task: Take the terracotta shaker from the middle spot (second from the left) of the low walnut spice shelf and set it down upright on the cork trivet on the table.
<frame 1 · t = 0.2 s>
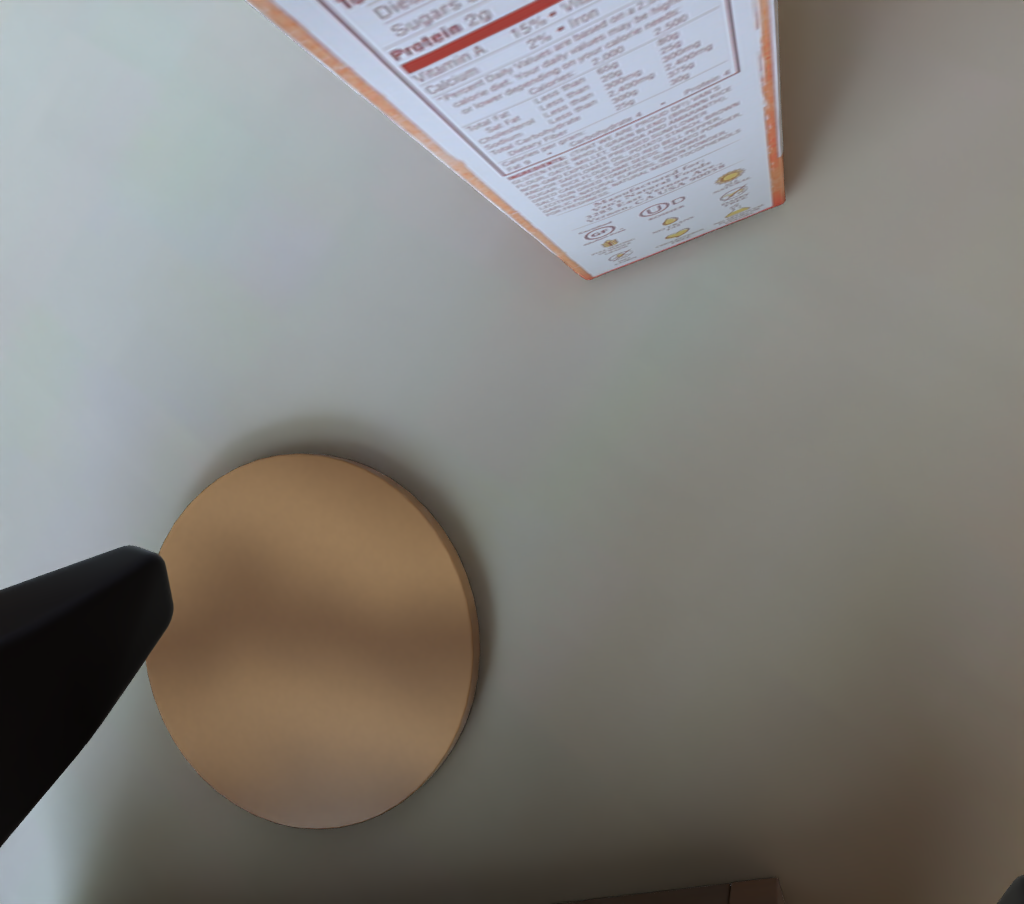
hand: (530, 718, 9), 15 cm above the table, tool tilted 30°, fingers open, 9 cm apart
cork trivet: (308, 636, 26), on the table
cracker box: (599, 21, 24), on the table
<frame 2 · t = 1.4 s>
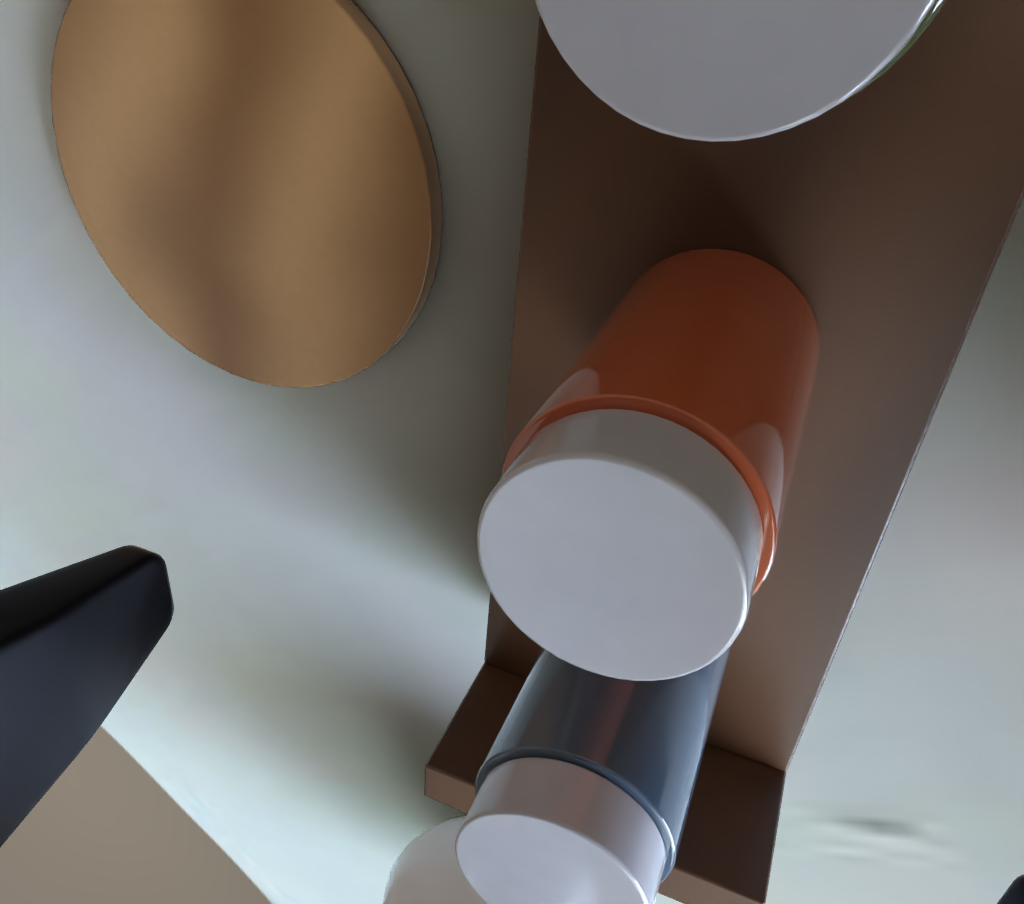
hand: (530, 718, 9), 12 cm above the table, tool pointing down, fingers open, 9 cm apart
spice shelf: (739, 290, 19), on the table
flower vase: (532, 845, 32), on the table
terracotta shaker: (712, 347, 16), point 3 cm above the table, touching spice shelf
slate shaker: (650, 616, 20), point 3 cm above the table, touching spice shelf
cork trivet: (246, 181, 22), on the table
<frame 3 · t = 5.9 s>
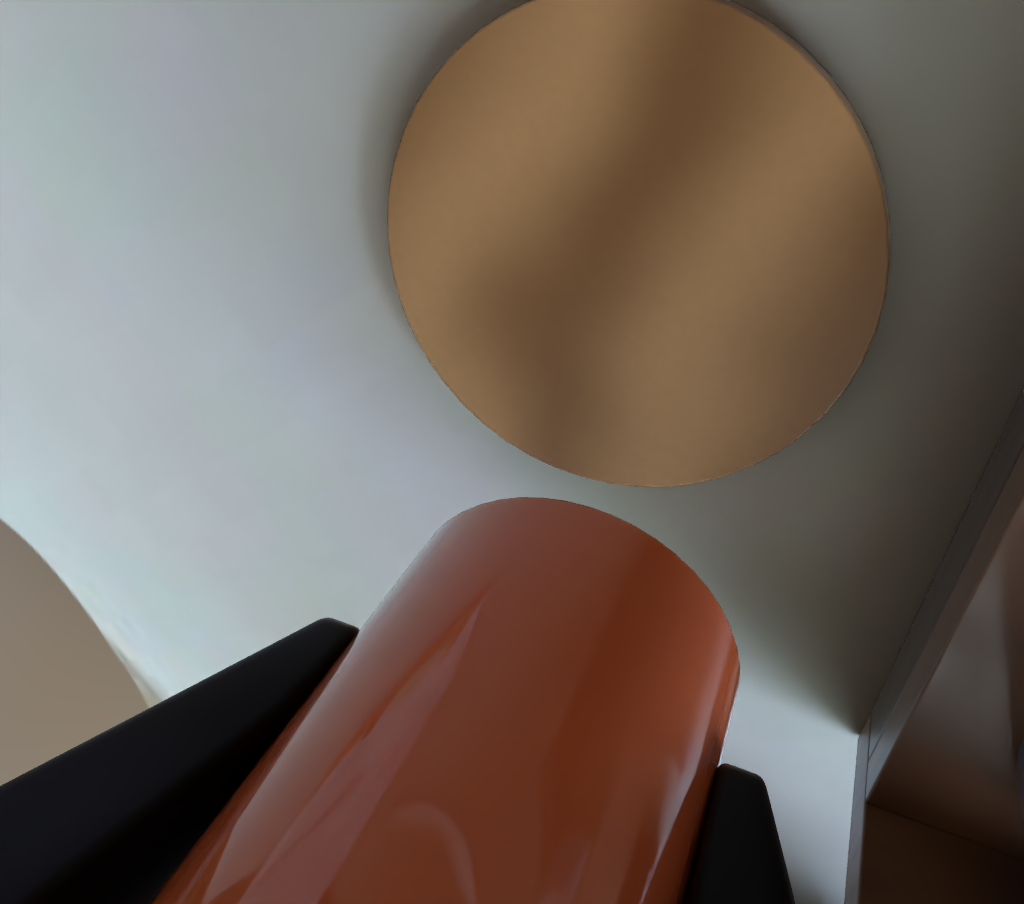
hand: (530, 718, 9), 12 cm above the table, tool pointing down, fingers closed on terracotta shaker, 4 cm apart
terracotta shaker: (567, 638, 10), point 11 cm above the table, touching gripper
cork trivet: (619, 262, 19), on the table
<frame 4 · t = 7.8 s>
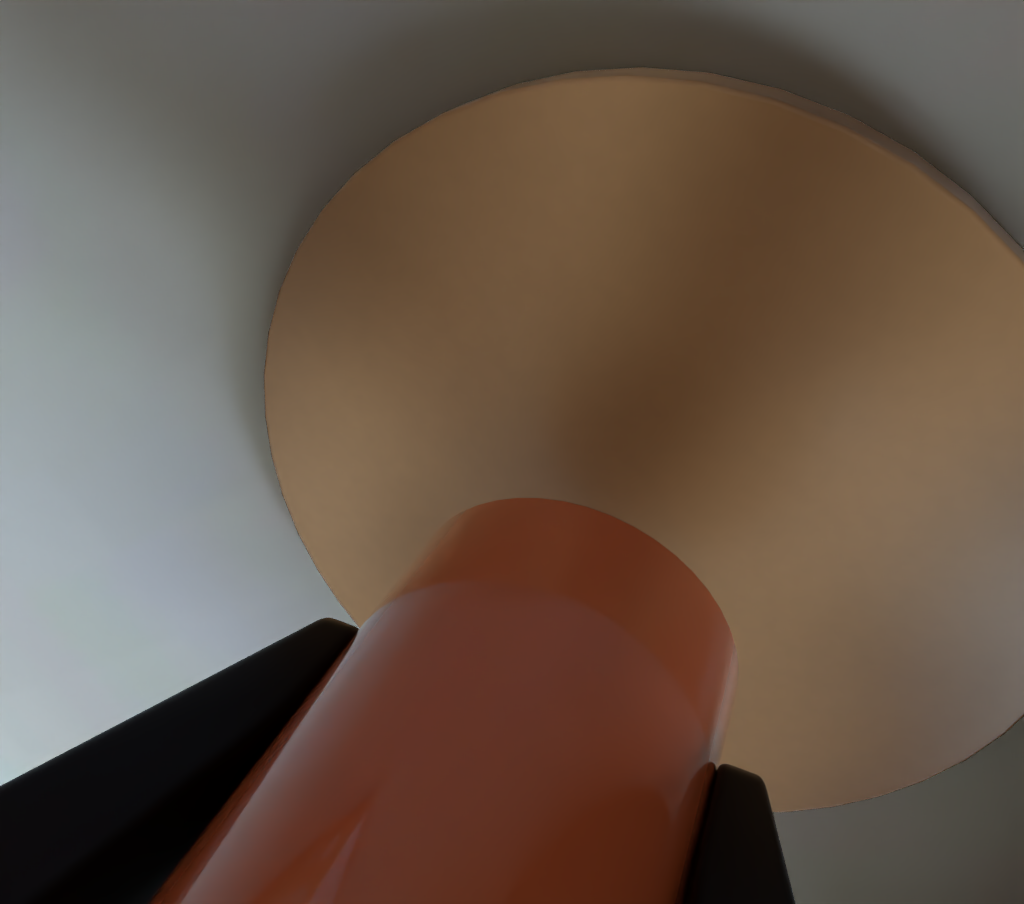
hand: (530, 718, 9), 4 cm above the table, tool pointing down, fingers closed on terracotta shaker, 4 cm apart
terracotta shaker: (566, 638, 10), point 3 cm above the table, touching gripper
cork trivet: (629, 498, 12), on the table
when the fingers open (2 cm above the table, at t = 8.8 s): terracotta shaker stays where it is, resting on cork trivet.
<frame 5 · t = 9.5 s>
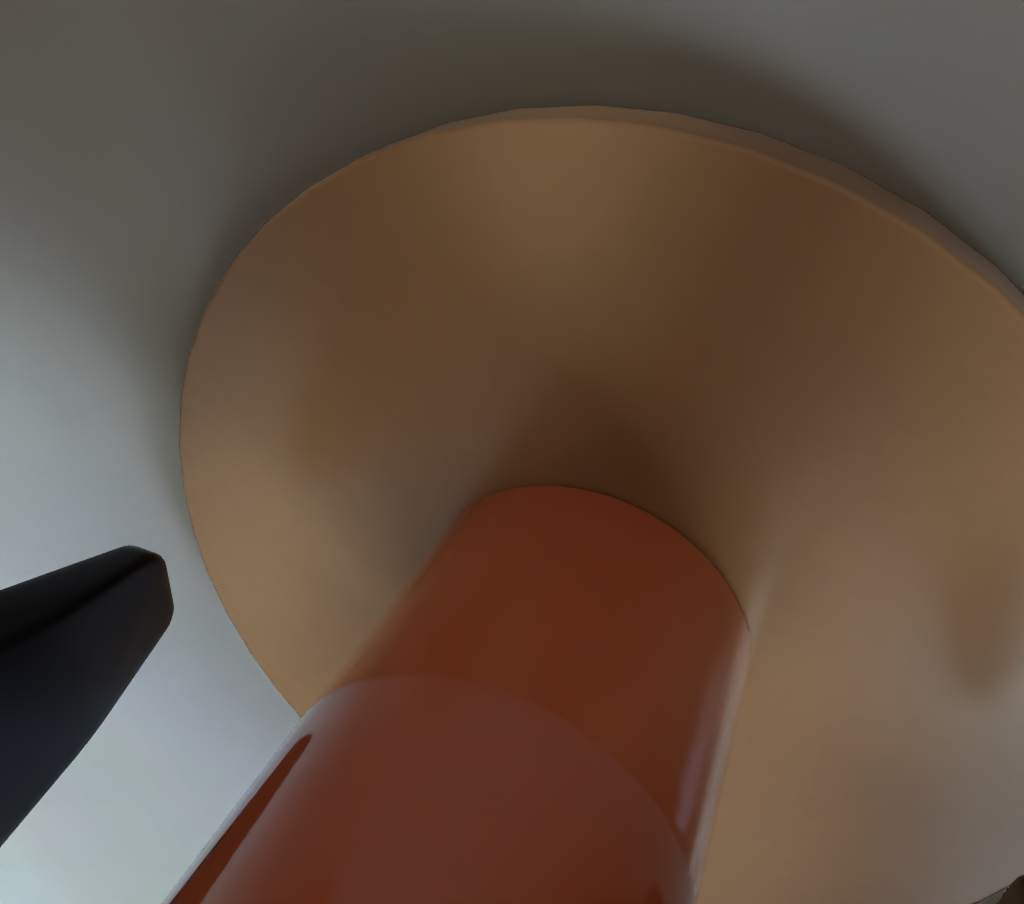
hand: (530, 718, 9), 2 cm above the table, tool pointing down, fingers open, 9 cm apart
terracotta shaker: (581, 624, 10), point 1 cm above the table, touching cork trivet
cork trivet: (593, 591, 10), on the table
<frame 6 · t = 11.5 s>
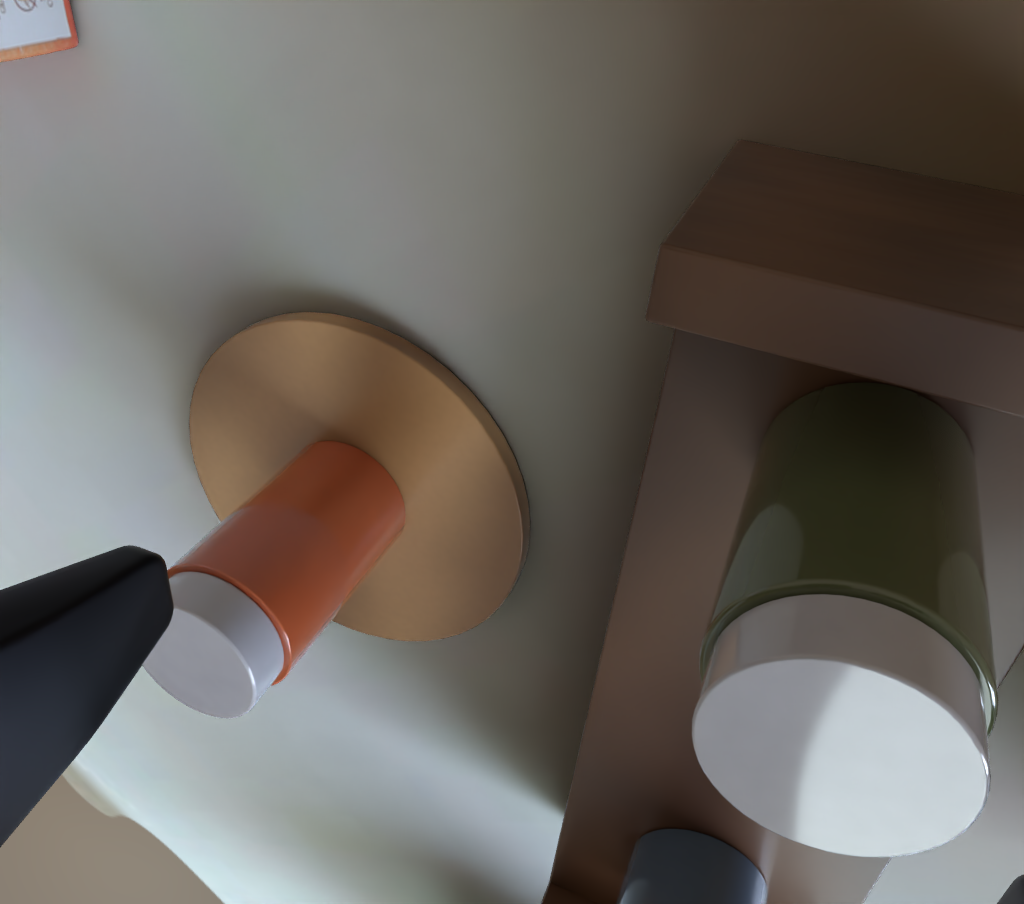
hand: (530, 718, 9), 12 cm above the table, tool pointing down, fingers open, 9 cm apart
spice shelf: (780, 627, 23), on the table
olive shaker: (861, 471, 16), point 3 cm above the table, touching spice shelf
terracotta shaker: (347, 496, 25), point 1 cm above the table, touching cork trivet
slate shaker: (697, 874, 24), point 3 cm above the table, touching spice shelf
cork trivet: (357, 485, 26), on the table
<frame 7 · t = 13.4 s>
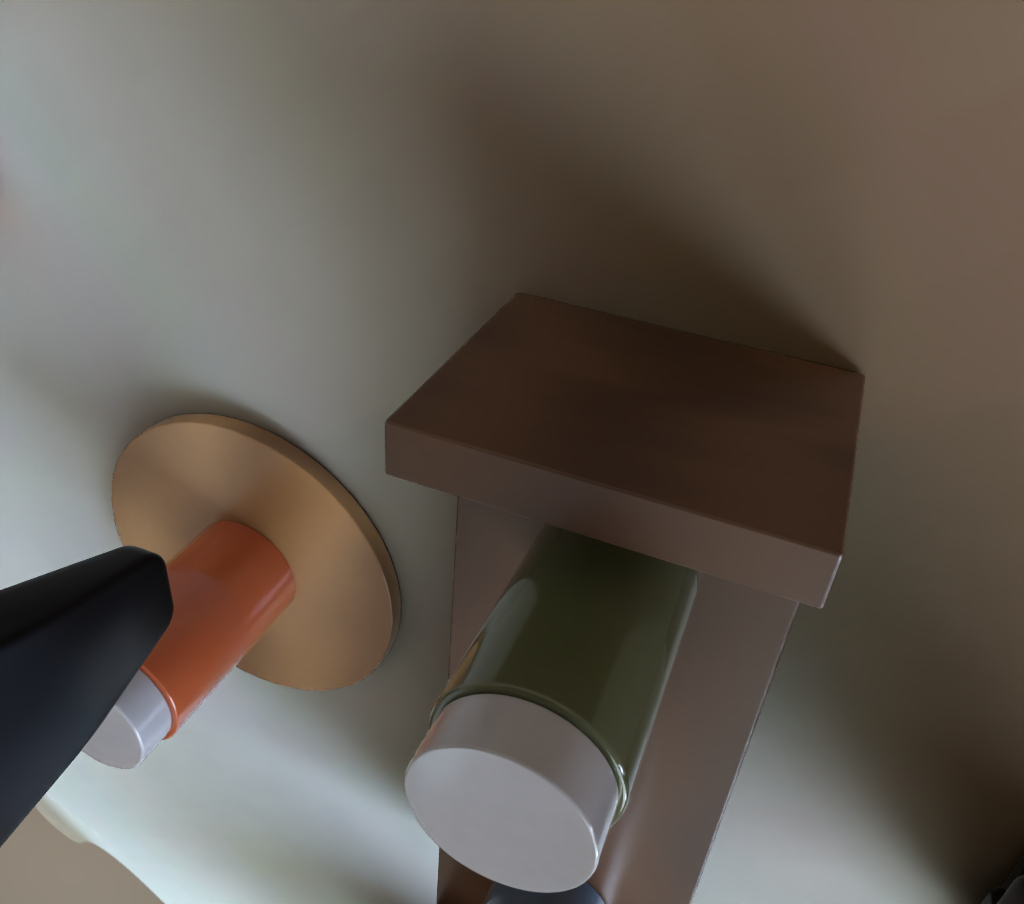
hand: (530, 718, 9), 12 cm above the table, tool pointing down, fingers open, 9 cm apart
spice shelf: (609, 681, 26), on the table
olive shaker: (615, 567, 20), point 3 cm above the table, touching spice shelf
terracotta shaker: (247, 567, 29), point 1 cm above the table, touching cork trivet
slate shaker: (552, 896, 28), point 3 cm above the table, touching spice shelf
cork trivet: (257, 556, 29), on the table
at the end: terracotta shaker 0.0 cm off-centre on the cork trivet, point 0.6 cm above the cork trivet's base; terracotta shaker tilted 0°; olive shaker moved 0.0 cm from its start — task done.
